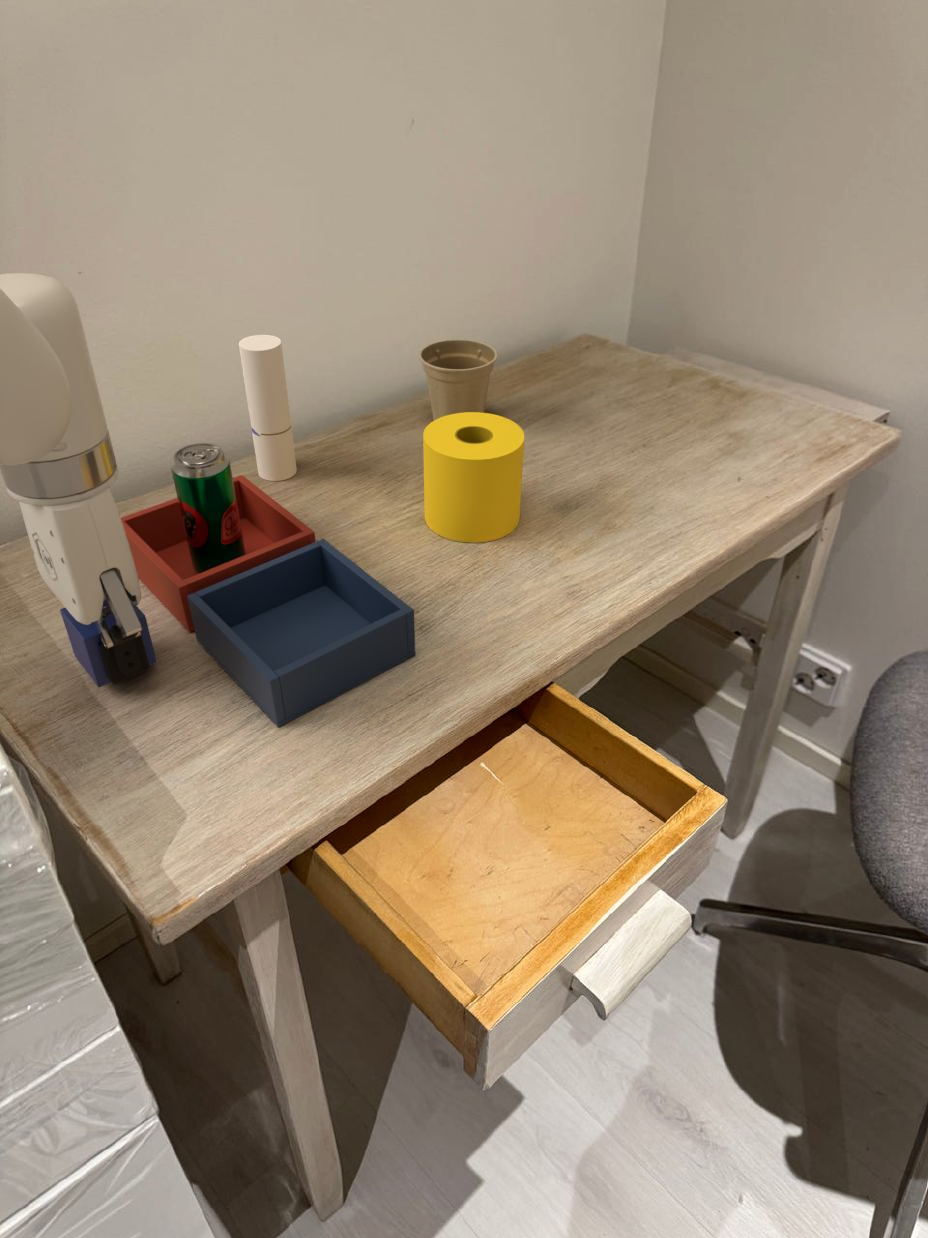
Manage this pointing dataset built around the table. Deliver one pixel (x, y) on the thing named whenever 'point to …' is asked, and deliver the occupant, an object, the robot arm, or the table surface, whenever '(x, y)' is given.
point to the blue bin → (302, 629)
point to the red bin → (168, 557)
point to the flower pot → (457, 375)
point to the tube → (268, 406)
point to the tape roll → (472, 476)
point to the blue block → (88, 639)
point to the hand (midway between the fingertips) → (114, 655)
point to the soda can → (208, 505)
